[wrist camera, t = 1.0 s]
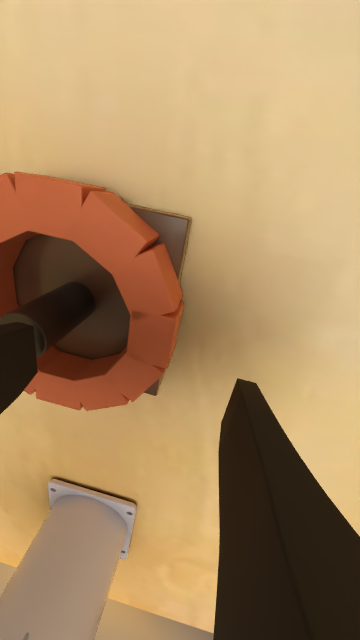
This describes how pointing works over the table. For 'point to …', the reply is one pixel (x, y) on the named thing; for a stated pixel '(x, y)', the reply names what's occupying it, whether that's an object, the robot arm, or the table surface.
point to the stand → (83, 291)
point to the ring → (115, 256)
